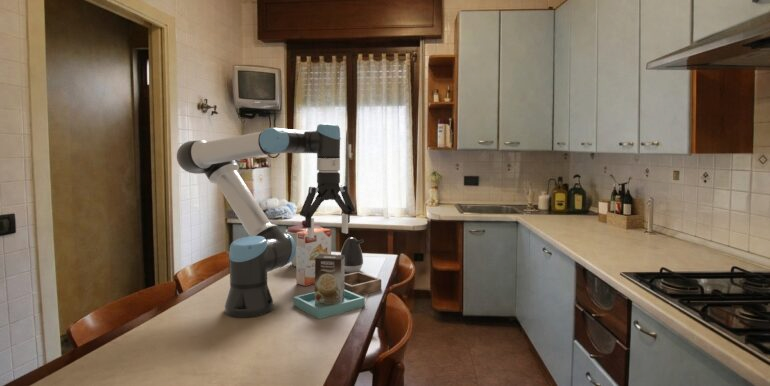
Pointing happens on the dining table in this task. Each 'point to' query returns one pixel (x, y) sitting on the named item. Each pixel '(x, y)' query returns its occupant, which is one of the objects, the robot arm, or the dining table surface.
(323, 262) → the coffee box
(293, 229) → the canister
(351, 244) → the pump dispenser
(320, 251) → the cracker box
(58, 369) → the dining table surface
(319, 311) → the tray
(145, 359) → the dining table surface
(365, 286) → the holder
